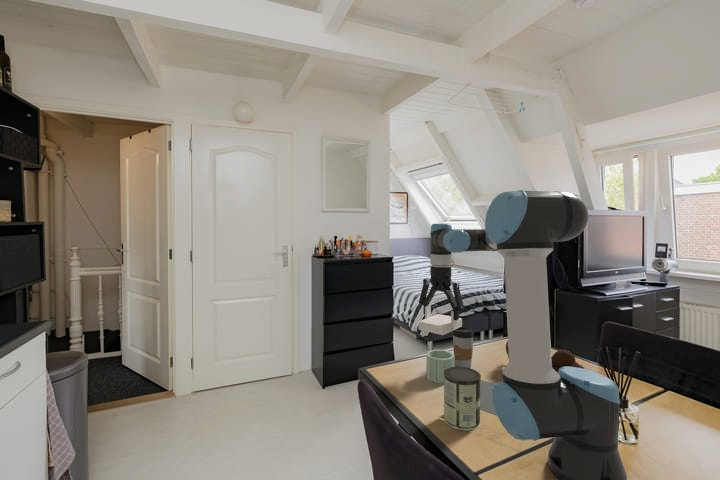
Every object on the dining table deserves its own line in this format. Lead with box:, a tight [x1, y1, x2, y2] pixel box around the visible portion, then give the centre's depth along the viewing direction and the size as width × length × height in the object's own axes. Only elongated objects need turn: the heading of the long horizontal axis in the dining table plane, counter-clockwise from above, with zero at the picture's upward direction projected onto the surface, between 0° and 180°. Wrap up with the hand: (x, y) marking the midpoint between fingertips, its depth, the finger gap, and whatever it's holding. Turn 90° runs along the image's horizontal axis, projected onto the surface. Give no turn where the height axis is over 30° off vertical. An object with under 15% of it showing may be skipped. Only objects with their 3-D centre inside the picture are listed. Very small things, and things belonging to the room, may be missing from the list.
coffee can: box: [443, 366, 482, 432], centre depth 102 cm, size 10×10×14 cm
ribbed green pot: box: [425, 349, 455, 385], centre depth 131 cm, size 10×10×9 cm
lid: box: [418, 313, 463, 336], centre depth 130 cm, size 14×10×3 cm
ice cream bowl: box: [551, 349, 585, 372], centre depth 119 cm, size 11×11×15 cm
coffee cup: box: [452, 326, 475, 368], centre depth 141 cm, size 8×8×15 cm
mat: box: [480, 379, 498, 417], centre depth 117 cm, size 20×16×1 cm
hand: (440, 325), depth 130 cm, fingers closed on lid, 10 cm apart
